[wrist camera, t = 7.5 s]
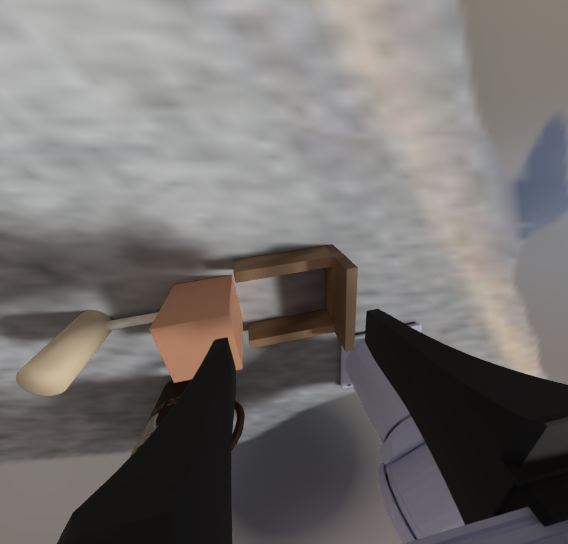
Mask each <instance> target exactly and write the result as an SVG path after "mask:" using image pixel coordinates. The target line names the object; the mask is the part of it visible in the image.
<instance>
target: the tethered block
mask: <svg viewBox="0 0 568 544" xmlns="http://www.w3.org/2000/svg"><path fill="white" fill-rule="evenodd" d="M147 323H152V325H151V327H150V329H149V330H150V332H151V334H152V336H153V339H154V341H155V343H156V345H157V347H158V349H159V352H160V354H161V356H162V358H163V360H164V362H165V364H166V367H167V369H168V371H169V373H170V375H171V377H172V380H173V382H174V383H176V382H181V381H186V380H191V379H192V378H193V377H194V375H195V374H196V372H197V370H198V368H199V367H200V365H201V363H202V362H203V360H204V358H205V356H206V354H207V352H208V351H209V349H210V347H211V345H212V343H213V341H214V340H215V339H220V338H225V337H227V338H228V341H229V345H230V349H231V352H232V356H233V359H234V363H235V367H236V370H239V369H243V320H242V315H241V311H240V307H239V302H238V298H237V294H236V289H235V285H234V281H233V276H232V275H229V276H223V277H217V278H211V279H205V280H199V281H193V282H187V283H181V284H175V285H174V286H173V288H172V289H171V291H170V293H169V295H168V297H167V298H166V300H165V302H164V304H163V305H162V307H161V309H160V311H159V312H157V313H151V314H145V315H140V316H134V317H128V318H122V319H117V320H111V318H110V317H109V316H108V315H106V314H104V313H102V312H99V311H94V310H90V311H85V312H83V313H81V314H80V315H79V316H78V317H76V318H75V319H74V320H73V321H72V322H71V323H70V324H69V325H68V326H67V327H66V328H65V329H64V330H63V331H61V332H60V333H59V334H58V335H57V336H56V337H55V338H54V339H53V340H52V341H51V342H50V343H49V344H48V345H46V346H45V347H44V348H43V349H42V350H41V351H40V352H39V353H38V354H37V355H36V356H35V357H34V358H33V359H32V360H30V361H29V362H28V363H27V364H26V365H25V366H24V367H23V368H22V369H21V370H20V371H19V372H18V373H17V375H16V381H17V383H18V384H19V386H20V387H21V388H23V389H24V390H26V391H27V392H30V393H32V394H35V395H40V396H54V395H58V394H61V393H63V392H64V391H65V390H66V389H67V388H68V387H69V385H70V384H71V383H72V382H73V380H74V379H75V378H76V376H77V375H78V374H79V373H80V371H81V370H82V369H83V367H84V366H85V365H86V364H87V362H88V361H89V360H90V358H91V357H92V356H93V355H94V353H95V352H96V351H97V349H98V348H99V347H100V345H101V344H102V343H103V342H104V340H105V339H106V338H107V336H108V335H109V334H110V333H111V331H112V330H114V329H119V328H125V327H130V326H136V325H142V324H147Z"/></svg>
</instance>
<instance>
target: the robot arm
mask: <svg viewBox="0 0 568 544" xmlns="http://www.w3.org/2000/svg"><path fill="white" fill-rule="evenodd" d="M421 330H422V326H421V325H420V324H419V323H415V324H410V325H406V324H404V323H402V322H401V321H399V320H397V319H395V318H394V317H392V316H390V315H388V314H387V313H385V312H383V311H381V310H379V309H375V310H369V311H367V315H366V330H365V333H364V334H359V335H355V342H354V350H350V351H345V350H344V348H343V346H342V345H341V387H342V388H350V387H354V389H355V391H356V393H357V395H358V397H359V399H360V401H361V403H362V405H363V407H364V409H365V411H366V413H367V415H368V417H369V419H370V421H371V423H372V425H373V427H374V429H375V431H376V433H377V435H378V437H379V440H380V442H381V443H382V446H380V447H379V448H378V449H377V450H378V452H379V454H380V456H381V458H382V460H383V463H381V464H380V465H379V467H378V485H379V490H380V494H381V497H382V500H383V503H384V506H385V508H386V511H387V513H388V515H389V518H390V520H391V522H392V524H393V526H394V528H395V530H396V532H397V534H398V536H399V537H400V539H401V541H402V542H403V544H568V385H565V384H562V383H557V382H554V381H550V380H546V379H542V378H538V377H534V376H531V375H528V374H524V373H521V372H517V371H514V370H511V369H508V368H505V367H502V366H498V365H496V364H493V363H490V362H487V361H484V360H482V359H479V358H476V357H474V356H471V355H468V354H466V353H464V352H461V351H459V350H456V349H454V348H452V347H449V346H447V345H445V344H443V343H441V342H439V341H437V340H435V339H432V338H430V337H428V336H426V335H425V334H423V333H422V332H421ZM235 395H236V367H235V363H234V359H233V356H232V352H231V349H230V345H229V341H228V338H227V337H225V338H220V339H215V340H214V341H213V343H212V345H211V347H210V349H209V351H208V352H207V354H206V356H205V358H204V360H203V362H202V363H201V365H200V367H199V368H198V370H197V372H196V374H195V375H194V377H193V378H192V380H191V382H190V383H189V385H188V386H187V388H186V389H185V391H184V392H183V394H182V395H181V397H180V398H179V399H178V401H177V402H176V404H175V405H174V406H173V408H172V409H171V410H170V412H169V413H168V414H167V416H166V417H165V418H164V419H163V421H162V422H161V423H160V424H159V425H158V427H157V428H156V429H155V430H154V431H153V433H152V434H151V435H150V436H149V437H148V439H147V440H146V441H145V442H144V443H143V444H142V445H141V446H140V447H139V449H138V450H137V451H136V452H135V453H134V454H133V455H132V456H131V457H130V458H129V459H128V460H127V461H126V462H125V463H124V464H123V465H122V467H121V468H119V470H118V471H117V472H116V473H115V474H114V475H112V476H111V478H110V479H109V480H107V481H106V483H104V484H103V485H102V486H101V487H100V488H99V489H98V490H97V491H96V492H95V493H94V494H93V495H91V497H89V498H88V499H87V500H86V501H85V502H84V503H83V504H82V505H81V506H80V507H79V508H78V509H76V510H75V511H74V512H73V514H72V516H71V518H70V520H69V521H68V523H67V525H66V527H65V529H64V530H63V533H62V534H61V537H60V539H59V541H58V543H57V544H232V513H231V442H232V429H233V417H234V406H235Z"/></svg>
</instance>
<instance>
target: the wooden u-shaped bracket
mask: <svg viewBox="0 0 568 544" xmlns="http://www.w3.org/2000/svg"><path fill="white" fill-rule="evenodd" d="M322 268H325V285H326V310H320V311H315V312H309V313H304V314H299V315H293V316H288V317H282V318H277V319H271V320H266V321H260V322H255V323H249V324H248V328H249V344H250V348H256V347H261V346H267V345H272V344H277V343H282V342H287V341H292V340H297V339H303V338H308V337H313V336H318V335H323V334H328V333H333V332H335V333H336V335H337V337H338V339H339V341H340V343H341V345H342V346H343V348H344V350H345V351H350V350H354V342H355V319H356V295H357V271H358V267H357V266H356V265H354V264H353V263H352V262H351V261H350V260H349V259H348V258H347V257H346V256H345V255H344V254H343V253H341V252H340V251H339V250H338V249H337V248H336V247H335V246H334V245H328V246H322V247H316V248H309V249H303V250H296V251H290V252H284V253H277V254H271V255H264V256H258V257H251V258H245V259H239V260H235V262H234V277H235V281H236V283H238V282H244V281H250V280H256V279H262V278H268V277H274V276H280V275H286V274H292V273H298V272H304V271H310V270H316V269H322Z"/></svg>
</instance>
